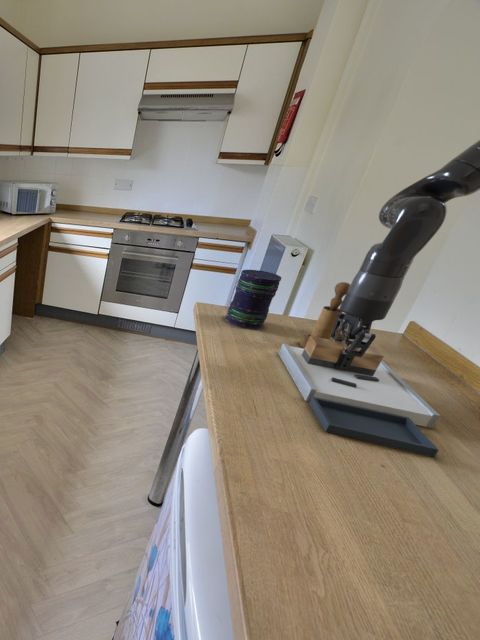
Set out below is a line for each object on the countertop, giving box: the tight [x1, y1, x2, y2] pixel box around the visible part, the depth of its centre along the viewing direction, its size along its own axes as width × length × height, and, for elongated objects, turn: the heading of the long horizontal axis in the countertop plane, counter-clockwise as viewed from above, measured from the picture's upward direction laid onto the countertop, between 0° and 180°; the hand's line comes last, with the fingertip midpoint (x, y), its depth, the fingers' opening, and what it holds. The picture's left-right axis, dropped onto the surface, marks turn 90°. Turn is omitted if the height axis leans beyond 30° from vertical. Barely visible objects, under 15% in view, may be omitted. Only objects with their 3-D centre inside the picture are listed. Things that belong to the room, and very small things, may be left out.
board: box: [278, 343, 441, 429], centre depth 90 cm, size 20×24×3 cm
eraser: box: [302, 336, 385, 376], centre depth 93 cm, size 12×5×5 cm, turn 66°
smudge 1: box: [331, 377, 357, 388], centre depth 86 cm, size 4×1×1 cm, turn 54°
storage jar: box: [224, 269, 282, 330], centre depth 119 cm, size 10×10×15 cm
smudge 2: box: [354, 374, 379, 382], centre depth 88 cm, size 4×1×1 cm, turn 76°
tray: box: [308, 397, 439, 458], centre depth 76 cm, size 15×10×2 cm
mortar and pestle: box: [299, 281, 351, 349], centre depth 104 cm, size 7×6×18 cm
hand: (336, 363), depth 94 cm, fingers closed on eraser, 5 cm apart
